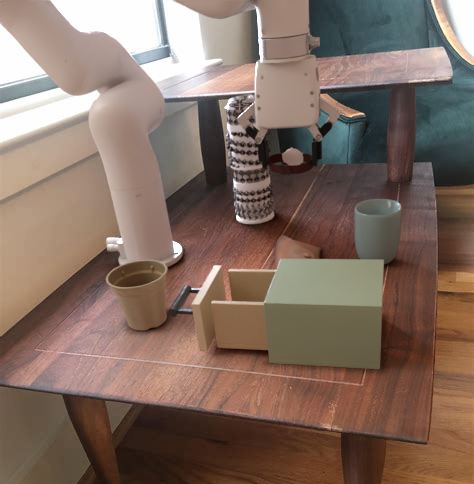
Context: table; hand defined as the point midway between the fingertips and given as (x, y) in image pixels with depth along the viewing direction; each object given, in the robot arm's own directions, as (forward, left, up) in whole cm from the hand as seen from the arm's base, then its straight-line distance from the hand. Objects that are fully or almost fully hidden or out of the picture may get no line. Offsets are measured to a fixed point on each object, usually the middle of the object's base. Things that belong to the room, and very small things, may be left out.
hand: (290, 164), depth 91 cm
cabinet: (+8, -25, -18) cm, 32 cm away
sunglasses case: (+1, -5, -18) cm, 19 cm away
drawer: (-5, -25, -17) cm, 31 cm away
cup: (+14, 0, -18) cm, 23 cm away
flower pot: (-21, -22, -18) cm, 35 cm away
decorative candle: (-12, +21, -18) cm, 30 cm away
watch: (0, 0, -1) cm, 1 cm away
